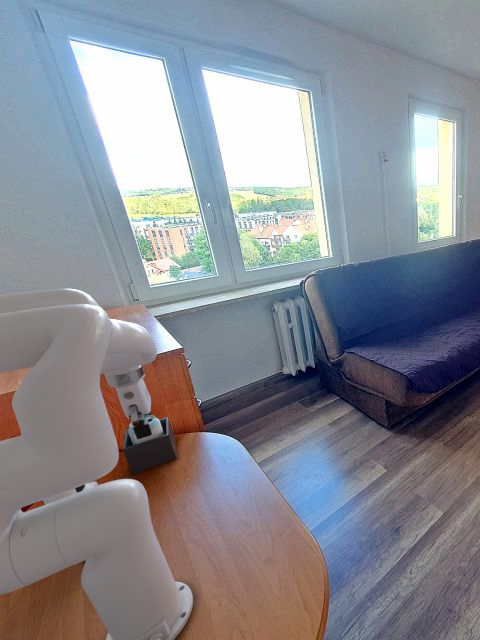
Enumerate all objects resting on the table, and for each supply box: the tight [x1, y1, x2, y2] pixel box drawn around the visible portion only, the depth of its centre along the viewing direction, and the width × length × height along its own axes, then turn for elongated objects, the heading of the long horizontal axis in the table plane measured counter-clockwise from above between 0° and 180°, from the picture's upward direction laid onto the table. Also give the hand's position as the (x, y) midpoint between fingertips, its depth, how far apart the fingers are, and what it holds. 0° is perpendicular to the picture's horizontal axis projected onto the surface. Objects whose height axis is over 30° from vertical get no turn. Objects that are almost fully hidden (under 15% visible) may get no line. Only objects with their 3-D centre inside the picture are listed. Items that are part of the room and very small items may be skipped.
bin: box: [122, 416, 178, 475], centre depth 97 cm, size 10×10×9 cm
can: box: [128, 414, 165, 445], centre depth 96 cm, size 7×7×12 cm
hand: (145, 428), depth 95 cm, fingers open, 7 cm apart
